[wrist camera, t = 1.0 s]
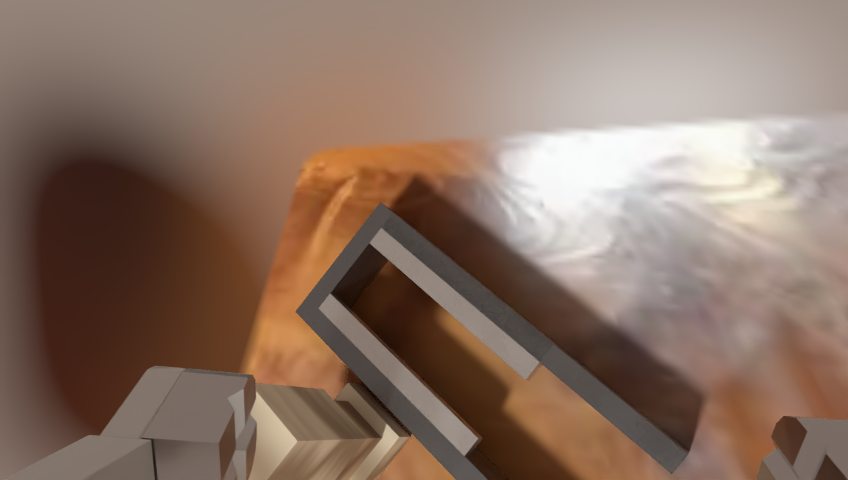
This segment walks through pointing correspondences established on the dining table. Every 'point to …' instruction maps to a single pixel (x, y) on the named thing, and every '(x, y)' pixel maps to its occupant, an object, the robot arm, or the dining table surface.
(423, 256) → the grey slotted frame
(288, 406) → the birch keyhole peg
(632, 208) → the dining table surface
